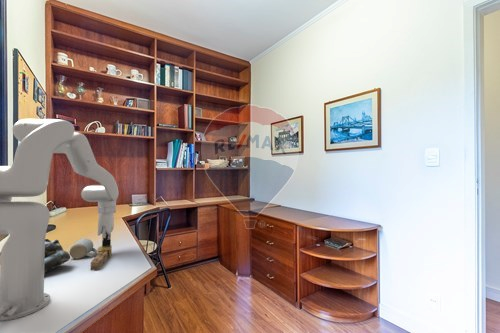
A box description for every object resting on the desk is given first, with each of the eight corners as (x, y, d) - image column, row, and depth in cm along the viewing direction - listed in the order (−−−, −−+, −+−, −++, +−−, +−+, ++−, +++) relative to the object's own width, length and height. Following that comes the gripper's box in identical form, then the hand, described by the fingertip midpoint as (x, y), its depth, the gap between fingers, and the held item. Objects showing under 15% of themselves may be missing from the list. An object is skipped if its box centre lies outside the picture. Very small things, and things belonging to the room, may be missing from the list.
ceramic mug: (67, 260, 106) (68, 243, 106) (75, 254, 113) (75, 238, 114) (94, 258, 109) (95, 242, 109) (100, 252, 117) (100, 237, 117)
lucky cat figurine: (24, 283, 84) (9, 248, 86) (26, 284, 93) (13, 252, 94) (73, 260, 95) (59, 229, 96) (71, 263, 103) (58, 234, 105)
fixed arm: (95, 269, 96) (95, 261, 96) (90, 270, 96) (90, 262, 96) (106, 254, 113) (106, 247, 113) (102, 254, 113) (102, 248, 113)
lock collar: (110, 257, 110) (110, 246, 110) (97, 258, 108) (97, 248, 108) (111, 255, 112) (111, 245, 112) (99, 256, 110) (99, 246, 110)
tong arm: (98, 269, 96) (98, 262, 96) (94, 270, 95) (94, 262, 96) (109, 255, 111) (109, 249, 111) (105, 256, 111) (105, 249, 111)
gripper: (102, 207, 119) (101, 244, 118) (93, 213, 105) (92, 254, 104) (119, 207, 121) (118, 242, 121) (112, 212, 107) (111, 252, 107)
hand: (106, 247), depth 113 cm, fingers closed
